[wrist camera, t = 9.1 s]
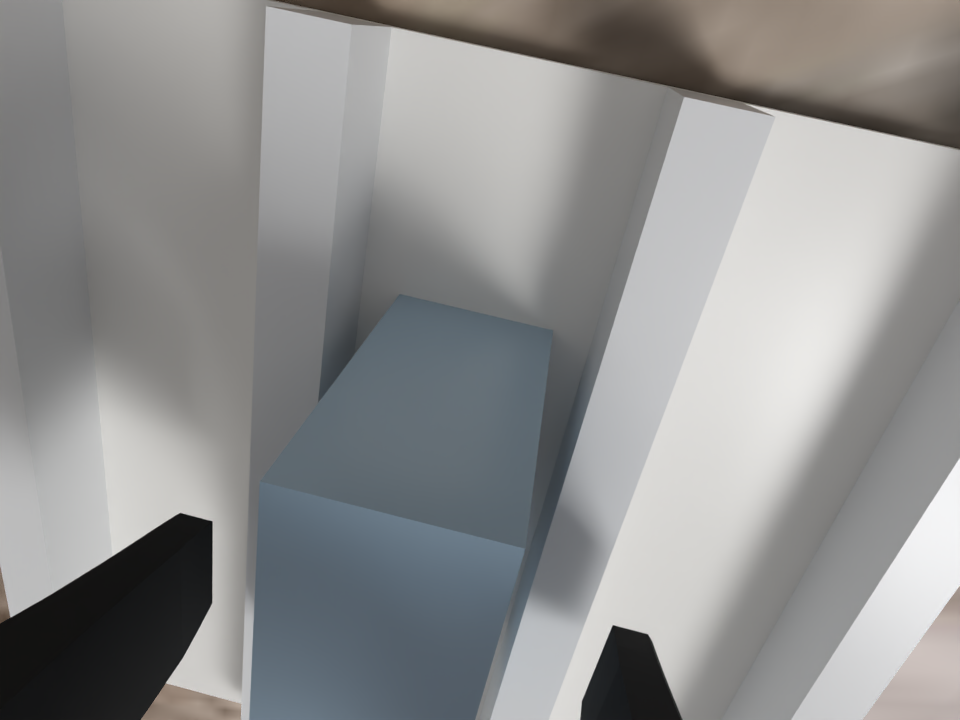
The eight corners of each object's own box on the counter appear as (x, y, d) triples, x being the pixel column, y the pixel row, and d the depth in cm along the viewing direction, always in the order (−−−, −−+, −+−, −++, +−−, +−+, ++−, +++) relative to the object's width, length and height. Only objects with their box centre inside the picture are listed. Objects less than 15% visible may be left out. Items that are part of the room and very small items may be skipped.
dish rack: (1095, 178, 10) (1231, 216, 8) (706, 811, 19) (722, 916, 16) (10, -57, 11) (-131, -81, 9) (93, 646, 20) (30, 724, 17)
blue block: (553, 330, 12) (525, 549, 7) (475, 622, 16) (418, 911, 11) (399, 294, 13) (259, 480, 7) (356, 591, 16) (243, 862, 11)
